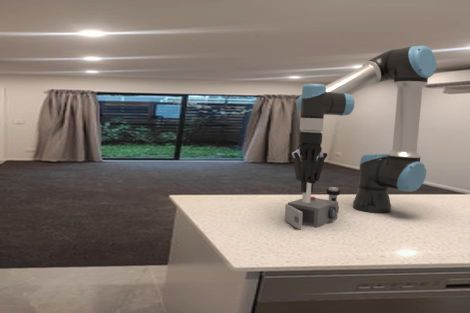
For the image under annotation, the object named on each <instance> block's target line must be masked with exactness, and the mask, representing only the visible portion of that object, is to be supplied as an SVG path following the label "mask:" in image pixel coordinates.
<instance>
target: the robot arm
mask: <svg viewBox="0 0 470 313" xmlns="http://www.w3.org/2000/svg"><path fill="white" fill-rule="evenodd" d="M436 70H437V59H436V56H435V54H434V52H433V50H432V49H431V48H429V47H428V46H426V45H413V46H409V47H408V46H407V47H403V48H397V49H396V48H395V49H391V50H387V51H385V52H382V53H381V54H378V55H376V56H375V57H373V58H371V59H368V60H366V61H365V62H364V63H363V64H362V66H361V67H359V68H357V69H356V70H353V71H352V72H350V73H348V74H346V75H344V76H342V77H340V78H338V79H336V80H335V81H332V82H331V83H329V84H326V85H325V84H322V83H305V84H304V85H302V91H301V95H300V96H299V97H298V98H297V101H296V107H297V109H298V111H299V113H300V121H299V130H300V131H299V133H298V143H299V144H298V146H297V149H296V150H295V151H291V153H290V155H291V157H292V159H293V167H294V173H295V179H296V181H299V182H301V183H300V184H301V185H300V192H301V193H302V194H301V195H302V196H301V199H302V201H303V202H305V203H310V197H311V196H312V195H311V194H312V193H313V191H314V184H316V182H318V181H320V178H321V173H322V172H323V166H324V164H325V163H324V162H325V160H326V158H327V157H328V153H327V152H324V151H323V148H322V143H323V133H322V132H323V130H324V118H325V117H324V115H325V116H326V115H327V116H348V115H351V113H352V112H353V110H354V108H355V100H354V97H353V94H355V93H357V92H358V91H360V90H362V89H365V88H366V87H367V86H369V85H377V84H378V83H381V82H386V81H393V85H395V86H396V87H397V91H396V92H397V94H396V104H395V115H394V117H395V118H394V126H393V129H394V130H393V138H392V140H393V141H392V150H391V151H390V152H388V153H382V154H380V153H378V154H377V153H376V154H372V153H371V154H363V155H362V156H361V157H360V163H359V177H358V189H357V192H356V194H355V196H354V200H353V202H352V208H354V209H355V210H358V211H362V212H367V213H375V214H379V213H380V214H381V213H383V214H384V213H390V212H391V211H392V204H391V199H390V195H389V188H390V189H394V190H399V191H401V192H409V193H410V192H416V191H417V190H418V189H420V188H421V186H422V185H424V184H423V183H424V182H425V180H426V176H427V168H426V166H425V164H424V163H422V162H421V155H420V154H419V153H418V152H417V151H418V140H419V130H420V121H421V120H420V118H421V108H422V98H423V88H424V87H425V86H426V85H427V84H428V81H429V80H428V79H429V78H431V77H432V76H433V75H434V74H435V73H436Z"/></svg>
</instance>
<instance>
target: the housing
mask: <svg viewBox="0 0 470 313" xmlns="http://www.w3.org/2000/svg"><path fill="white" fill-rule="evenodd" d="M287 204H288V205H290V206H292V207H294V208H296V209H298V210H300V211H302V212H303V216H302V225H304V224H305V225H304V226H310V227H313V226H314V228H319V227H322V226H324V225H326V224H329V223H332V222H334V221H336V220H338V214H339V211H338V206H339V201H337V202H336V201H331V200H329V199H324V198H318V197H315V196H313V195H311V197H310V203H305V202H303V201H302V198H301V199H300V198H299V199H296V200H293V201H290V202H287Z"/></svg>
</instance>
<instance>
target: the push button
mask: <svg viewBox="0 0 470 313" xmlns="http://www.w3.org/2000/svg"><path fill="white" fill-rule="evenodd" d="M340 193H341V190H339V187H336V186H329V187H328V189H326V194H327V195H328V200H331V201H336V202H338V196H339V195H340ZM339 208H340V207H339V205H338V212H339Z"/></svg>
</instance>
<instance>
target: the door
mask: <svg viewBox="0 0 470 313" xmlns="http://www.w3.org/2000/svg"><path fill="white" fill-rule="evenodd" d="M284 206H285V207H284V209H285V210H284V221H285V222H287V223H288V224H290V225H292V226H293V227H295V228H296V229H298V230H302V228H303V224H302V216H303V212H302V211H300V210H298V209H296V208H294V207H292V206H290V205H288V203H287V204H285V205H284Z"/></svg>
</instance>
